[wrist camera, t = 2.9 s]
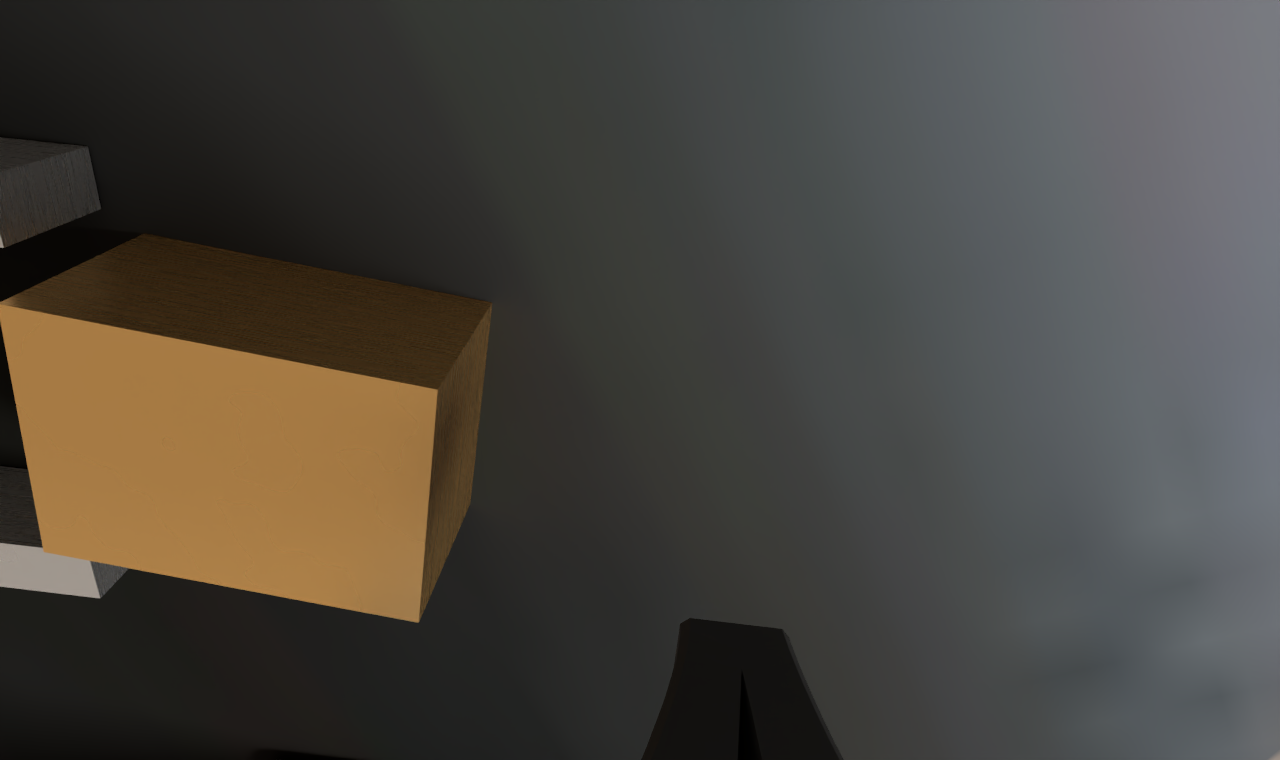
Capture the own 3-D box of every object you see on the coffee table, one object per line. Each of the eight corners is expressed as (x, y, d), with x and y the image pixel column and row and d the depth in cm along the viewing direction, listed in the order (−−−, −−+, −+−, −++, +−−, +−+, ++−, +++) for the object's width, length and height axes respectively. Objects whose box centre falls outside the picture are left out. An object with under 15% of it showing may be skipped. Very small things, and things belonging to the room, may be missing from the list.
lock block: (494, 298, 17) (437, 390, 13) (471, 498, 19) (418, 622, 15) (149, 231, 16) (-4, 304, 13) (169, 440, 19) (43, 552, 15)
